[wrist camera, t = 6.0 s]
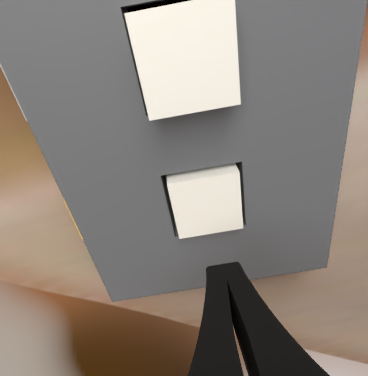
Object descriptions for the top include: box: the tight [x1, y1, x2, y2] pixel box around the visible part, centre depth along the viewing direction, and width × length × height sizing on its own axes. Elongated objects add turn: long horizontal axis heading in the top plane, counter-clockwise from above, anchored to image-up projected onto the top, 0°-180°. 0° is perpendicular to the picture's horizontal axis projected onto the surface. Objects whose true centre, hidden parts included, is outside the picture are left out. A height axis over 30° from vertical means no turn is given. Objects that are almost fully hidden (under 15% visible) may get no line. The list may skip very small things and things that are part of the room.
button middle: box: [124, 0, 241, 121], centre depth 12 cm, size 4×4×2 cm
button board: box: [0, 0, 367, 302], centre depth 14 cm, size 16×31×2 cm, turn 9°
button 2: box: [167, 163, 243, 239], centre depth 17 cm, size 4×4×2 cm
